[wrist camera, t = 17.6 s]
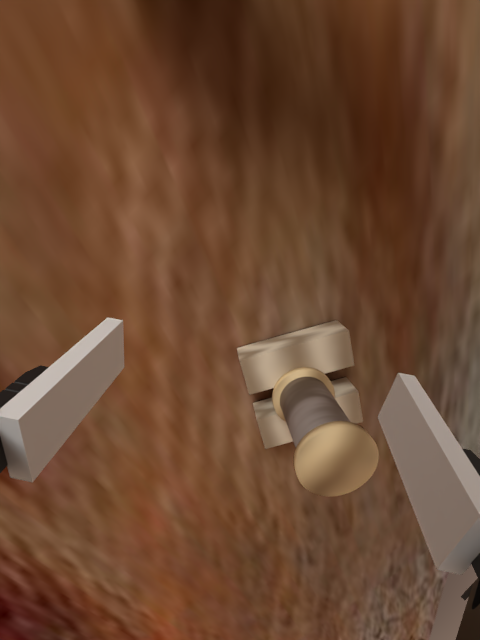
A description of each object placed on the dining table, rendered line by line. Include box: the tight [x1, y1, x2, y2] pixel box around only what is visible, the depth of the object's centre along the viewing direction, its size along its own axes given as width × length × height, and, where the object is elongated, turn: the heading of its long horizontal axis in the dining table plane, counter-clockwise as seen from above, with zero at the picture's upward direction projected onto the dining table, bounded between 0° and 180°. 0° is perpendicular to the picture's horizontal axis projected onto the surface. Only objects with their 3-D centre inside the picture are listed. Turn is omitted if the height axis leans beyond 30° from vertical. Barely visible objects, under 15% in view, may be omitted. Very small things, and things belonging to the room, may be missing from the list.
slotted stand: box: [237, 320, 363, 449], centre depth 42 cm, size 14×14×4 cm
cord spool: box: [272, 367, 379, 497], centre depth 35 cm, size 8×8×12 cm
